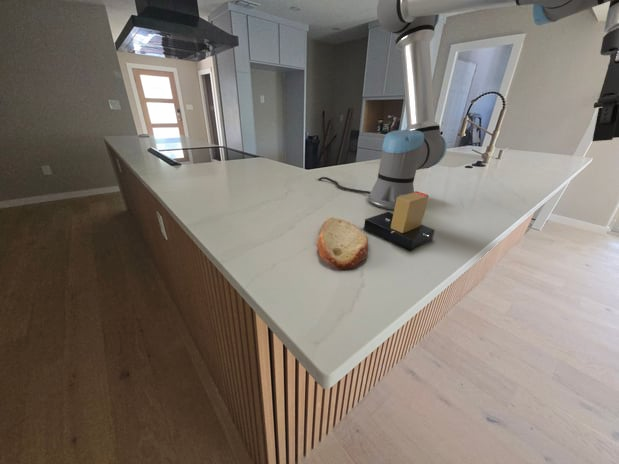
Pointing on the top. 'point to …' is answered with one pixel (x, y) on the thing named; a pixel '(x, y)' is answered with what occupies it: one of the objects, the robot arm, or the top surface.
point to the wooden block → (409, 211)
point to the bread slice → (342, 244)
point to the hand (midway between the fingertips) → (608, 139)
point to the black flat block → (406, 240)
